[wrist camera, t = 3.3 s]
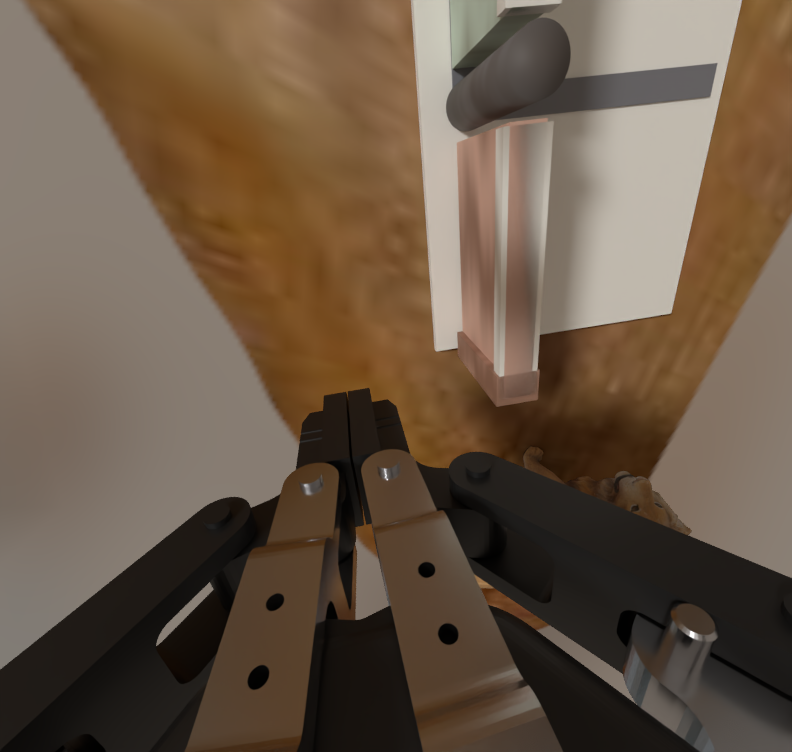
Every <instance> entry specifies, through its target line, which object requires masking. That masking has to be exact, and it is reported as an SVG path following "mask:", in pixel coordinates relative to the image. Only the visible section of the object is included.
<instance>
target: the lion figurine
mask: <svg viewBox="0 0 792 752" xmlns="http://www.w3.org/2000/svg"><path fill="white" fill-rule="evenodd" d="M542 455H543V451H542V450H541V449H539V448H538V447H532V446H531V447H529V448H528V449H527V450H526V452H525V454H524V456H523V460H524V463H525V465H524V466H525V468H526V469H528V470H531V471H533V472H535V473H538V474H540V475H543V476H545V477H548V478H550V479H552V480H555V481H557V482H560V483H562V484H564V485H567V486H569V487H572V488H574V489H577V490H579V491H581V492H584V493H586V494H589V495H591V496H594V497H596V498H598V499H601V500H603V501H606V502H608V503H611V504H613V505H615V506H618V507H620V508H623V509H625V510H627V511H630V512H632V513H635V514H637V515H640V516H642V517H644V518H647V519H649V520H652V521H654V522H657V523H659V524H661V525H664V526H666V527H669V528H671V529H673V530H676V531H678V532H681V533H683V534H686V535H689V534H690V533H691V531H692V530H690V528H688V527H686V526H685V525H684V524H683V523H682V522H681V521H680V520H679V519H678V516H677V515H676V514H675V513H674V512H673V511H672V509H671V508H670V507H669V506H668V504H667V503H666V502H665V501H664V500H663V498H662V497H661V496H660V494H659V493H657V492H655V491H652V487H651V483H650V481H649V480H648V479H646V478H644V477H641V476H638V477H636V478H635V477H634V476H633V475H631V474H630V473H628V472H626V471H621V472H618V473H617V474H616V475H615V478H605V479H602V480H599V481H595V480H593V479H592V478H590V477H589V476H583V477H578V478H576V479H574V480H569V481H568V482H566V483H564V482H563V481H562V480H561V479H559V478H558V477H557V476H556V475H555V474H554V473H553V472H552V471H550V470H548V469H547V468H545V467H544V466H542V465H541V464H540V463H539V461H540V460H541V459H542ZM474 576H475V578H476V580H477V582H478V584H479V587H480V588H494V587H492V586H491V585H489V584H488V583H486V582H485V581H483V580H482V579H480V578H479V577H477V576H476V575H474Z"/></svg>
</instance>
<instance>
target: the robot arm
mask: <svg viewBox="0 0 792 752" xmlns="http://www.w3.org/2000/svg"><path fill="white" fill-rule="evenodd" d="M362 506H363V509H362ZM363 511H364V516H365V520H366V525H367V524H372V528H373V533H374V539H375V544H376V549H377V553H378V558H379V563H380V567H381V572H382V577H383V581H384V586H385V591H386V596H387V600H388V605H389V606H388V607H386V608H384V609H382V610H380V611H378V612H376V613H374V614H372V615H370V616H368V617H366V618H364V619H361V620H355V609H356V568H357V550H356V546H355V542H356V530H355V527H358V526H363V525H364V520H363ZM474 575H476V576H477V577H479V578H480V579H482V580H483V581H485V582H486V583H488V584H489V585H491V586H492V587H494V588H495V589H497V590H498V591H500V592H501V593H503V594H504V595H506V596H507V597H509V598H510V599H512V600H513V601H515V602H516V603H518V604H519V605H521V606H522V607H524V608H525V609H527V610H528V611H530V612H531V613H533V614H534V615H536V616H537V617H539V618H540V619H542V620H543V621H545V622H546V623H548V624H549V625H551V626H552V627H554V628H555V629H557V630H558V631H560V632H561V633H563V634H564V635H565V636H567V637H568V638H570V639H571V640H573V641H574V642H576V643H578V644H579V645H580V646H582V647H583V648H585V649H586V650H588V651H590V652H591V653H592V654H594V655H596V656H597V657H598V658H600V659H601V660H603V661H604V662H606V663H608V664H609V665H610V666H612V667H613V668H615V669H616V670H618V671H619V672H621V673H622V674H623V677H624V681H625V684H626V686H627V689H628V691H629V693H630V695H631V696H632V698H633V700H634V701H635V703H636V704H637V705H636V704H635V703H634V702H632V701H631V700H629V699H628V698H627V697H626V696H624V695H623V694H622V693H620V692H619V691H618V690H616V689H615V688H613V687H612V686H611V685H609V684H608V683H607V682H605V681H604V680H603V679H601V678H600V677H599V676H597V675H596V674H594V673H593V672H592V671H590V670H589V669H588V668H586V667H585V666H584V665H582V664H581V663H580V662H578V661H577V660H575V659H574V658H573V657H572V656H570V655H569V654H567V653H566V652H565V651H563V650H562V649H561V648H559V647H558V646H556V645H555V644H554V643H552V642H551V641H550V640H548V639H547V638H546V637H544V636H543V635H542V634H540V633H539V632H538V631H536V630H535V629H534V628H532V627H531V626H529V625H528V624H527V623H525V622H524V621H522V620H521V619H519V618H517V617H515V616H514V615H512V614H510V613H508V612H506V611H503V610H501V609H499V608H496V607H493V606H490V605H488V604H487V602H486V600H485V597H484V595H483V593H482V591H481V589H480V587H479V584H478V582H477V580H476V578H475V576H474ZM209 582H210V583H211V585H212V587H213V589H214V590H213V591H212V592H211V593H210V594H209V595H208V596H207V597H206V598H205V599H204V600H203V601H202V602H201V603H200V604H199V605H198V606H197V607H196V608H195V609H194V610H193V611H192V612H191V613H190V614H189V615H188V616H187V617H186V618H185V619H184V620H183V621H182V622H181V623H180V624H179V625H178V626H177V628H175V629H174V630H173V631H172V632H171V634H169V635H168V636H167V637H166V638H165V639H164V640H163V641H162V642H161V643H160V644H159V645H158V646H156V643H157V639H158V636H159V634H160V633H161V631H162V629H163V628H164V627H165V625H166V624H167V623H168V622H169V621H170V620H171V619H172V618H173V617H174V616H175V615H176V614H177V613H178V612H179V611H180V610H181V609H182V608H183V607H184V606H185V605H186V604H187V603H189V602H190V600H192V598H194V597H195V596H196V595H197V594H198V593H199V592H200V591H201V590H202V589H203V588H204V587H205V586H206V585H207V584H208V583H209ZM0 752H792V578H790V577H787V576H785V575H782V574H780V573H778V572H775V571H773V570H770V569H768V568H766V567H763V566H761V565H758V564H756V563H753V562H751V561H749V560H746V559H744V558H741V557H739V556H736V555H734V554H732V553H729V552H727V551H724V550H722V549H720V548H717V547H715V546H712V545H710V544H707V543H705V542H703V541H700V540H698V539H695V538H693V537H690V536H688V535H686V534H683V533H681V532H678V531H676V530H673V529H671V528H669V527H666V526H664V525H661V524H659V523H657V522H654V521H652V520H649V519H647V518H644V517H642V516H640V515H637V514H635V513H632V512H630V511H627V510H625V509H623V508H620V507H618V506H615V505H613V504H611V503H608V502H606V501H603V500H601V499H598V498H596V497H594V496H591V495H589V494H586V493H584V492H581V491H579V490H577V489H574V488H572V487H569V486H567V485H564V484H562V483H560V482H557V481H555V480H552V479H550V478H548V477H545V476H543V475H540V474H538V473H535V472H533V471H531V470H528V469H526V468H523V467H521V466H518V465H516V464H514V463H511V462H509V461H506V460H504V459H502V458H499V457H497V456H494V455H492V454H488V453H484V452H470V453H466V454H463V455H460V456H458V457H457V458H455V459H454V460H453V461H452V462H451V464H450V466H449V468H433V467H428V466H425V465H422V464H420V463H418V462H417V461H415V459H414V457H413V456H412V455H411V454H410V452H409V448H408V445H407V441H406V438H405V435H404V431H403V428H402V425H401V421H400V418H399V414H398V411H397V408H396V406H395V405H394V404H393V403H391V402H390V401H389V400H382V401H376V402H372V400H371V394H370V389H369V388H366V389H360V390H354V391H348V397H347V393H346V392H343V393H337V394H331V395H325V396H324V405H323V411H319V412H314V413H310V414H309V415H308V416H307V418H306V419H305V420H304V422H303V423H302V430H301V437H300V444H299V451H298V458H297V466H296V470H295V471H294V472H292V473H291V474H290V475H289V476H288V477H287V479H286V480H285V482H284V484H283V487H282V491H281V494H280V495H278V496H276V497H275V498H273V499H271V500H269V501H266V502H264V503H262V504H259V505H257V506H255V507H252V508H251V507H250V505H249V503H248V502H247V501H246V500H245V499H243V498H239V497H229V498H223V499H220V500H217V501H215V502H213V503H210V504H209V505H207V506H205V507H204V508H203V509H201V510H200V511H199V512H197V513H196V514H195V515H193V516H192V517H191V518H190V519H188V520H187V521H186V522H185V523H184V524H182V525H181V526H180V527H178V528H177V529H176V530H175V531H174V532H172V533H171V534H170V535H168V536H167V537H166V538H165V539H163V540H162V541H161V542H160V543H158V544H157V545H156V546H155V547H153V548H152V549H151V550H150V551H148V552H147V553H146V554H145V555H143V556H142V557H141V558H140V559H138V560H137V561H136V562H135V563H133V564H132V565H131V566H130V567H128V568H127V569H126V570H125V571H123V572H122V573H121V574H119V575H118V576H117V577H116V578H114V579H113V580H112V581H111V582H109V584H107V585H106V586H104V587H103V588H102V589H101V590H100V591H98V592H97V593H96V594H95V595H93V596H92V597H91V598H89V599H88V600H87V601H86V602H84V603H83V604H82V605H81V606H79V607H78V608H77V609H76V610H75V611H73V612H72V613H71V614H70V615H68V616H67V617H66V618H64V619H63V620H62V621H61V622H59V623H58V624H57V625H56V626H54V627H53V628H52V629H51V630H49V631H48V632H47V633H46V634H44V635H43V636H42V637H41V638H39V639H38V640H37V641H36V642H34V643H33V644H32V645H31V646H29V647H28V648H27V649H26V650H24V651H23V652H22V653H21V654H19V655H18V656H17V657H15V658H14V659H13V660H12V661H10V662H9V663H8V664H7V665H6V666H4V667H3V668H2V669H0Z"/></svg>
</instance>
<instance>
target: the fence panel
mask: <svg viewBox="0 0 792 752" xmlns="http://www.w3.org/2000/svg"><path fill="white" fill-rule="evenodd" d="M553 125H554V121H550V122H548V118H542V119H533V120H524V121H515V122H509V123H506V124H504V125H501V126H498V127H496V128H493V129H491V130H488V131H486V132H483V133H480V134H478V135H475V136H473V137H470V138H468V139H465V140H463V141H460V142H457V167H458V199H459V231H460V263H461V295H462V327H463V331H461V332H457V341H458V357H459V358H460V359H461V361H462V362H463V363H464V365H465V366H466V367H467V369H468V370H469V371H470V372H471V374H472V375H473V376H474V378H475V379H476V380H477V382H478V383H479V384H480V386H481V387H482V388H483V390H484V391H485V392H486V394H487V395H488V396H489V398H490V399H491V400H492V401H493V403H494V404H495V405H496V407H499V406H505V405H510V404H516V403H522V402H527V401H533V400H538V387H539V373H540V370H539V369H538V353H539V338H540V323H541V307H542V292H543V277H544V262H545V247H546V232H547V216H548V201H549V186H550V171H551V156H552V141H553Z"/></svg>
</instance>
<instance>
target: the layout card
mask: <svg viewBox="0 0 792 752" xmlns="http://www.w3.org/2000/svg"><path fill="white" fill-rule="evenodd" d="M741 2H742V0H562V3H561V4H560V5H559V6H558V7H557V8H555V9H554V10H553V11H552V12H550V13H543V14H542V15H541V16H540V17H539V18H550V19H553V20H555V21H556V22H558V23H559V24H560V25H561V26H562V27H563V28H564V30H565V32H566V34H567V36H568V39H569V42H570V50H571V58H570V65H569V69H568V72H567V74H566V77H565V79H564V81H563V82H562V84H561V85H560V87H559V88H558V89H557V90H556V91H555V92H554V93H553V94H552V95H550V96H549V97H547V98H545V99H542V100H540V101H538V102H536V103H533V104H531V105H529V106H526V107H524V108H522V109H520V110H517V111H515V112H513V113H510V114H508V115H506V116H504V117H501V118H499V119H497V120H494V121H492V122H490V123H488V124H485V125H483V126H481V127H478V128H476V129H474V130H471V131H467V132H463V131H459V130H457V129H456V128H454V127H453V126H452V125H451V123H450V122H449V120H448V117H447V113H446V102H447V98H448V95H449V93H450V91H451V90H452V88H453V87H454V86H455V85H456V84H457V83H459V82H460V81H461V80H462V79H463V78H464V77H466V76H467V75H468V74H469V73H470V72H471V71H472V70H474V69H475V68H476V67H468V68H457V69H452V47H451V17H450V0H411V9H412V24H413V38H414V53H415V68H416V83H417V97H418V112H419V127H420V141H421V156H422V171H423V185H424V200H425V215H426V229H427V244H428V259H429V273H430V288H431V303H432V317H433V332H434V347H435V350H436V351H442V350H449V349H455V348H458V341H457V332H461V331H463V327H462V295H461V263H460V231H459V199H458V167H457V142H460V141H463V140H465V139H468V138H470V137H473V136H475V135H478V134H480V133H483V132H486V131H488V130H491V129H493V128H496V127H498V126H501V125H504V124H506V123H509V122H515V121H524V120H533V119H542V118H548V122H550V121H554V125H553V141H552V156H551V171H550V186H549V201H548V216H547V232H546V247H545V262H544V277H543V292H542V307H541V323H540V335H542V334H548V333H554V332H560V331H566V330H573V329H579V328H585V327H591V326H597V325H604V324H610V323H616V322H622V321H628V320H634V319H641V318H647V317H653V316H659V315H665V314H671V312H672V308H673V303H674V299H675V294H676V290H677V286H678V281H679V277H680V272H681V268H682V263H683V259H684V255H685V250H686V246H687V241H688V237H689V232H690V228H691V224H692V219H693V215H694V210H695V206H696V201H697V197H698V193H699V188H700V184H701V179H702V175H703V170H704V166H705V162H706V157H707V153H708V148H709V144H710V140H711V135H712V131H713V126H714V122H715V117H716V113H717V109H718V104H719V100H720V95H721V91H722V86H723V82H724V78H725V73H726V69H727V64H728V60H729V55H730V51H731V47H732V42H733V38H734V33H735V29H736V25H737V20H738V16H739V11H740V7H741Z"/></svg>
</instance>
